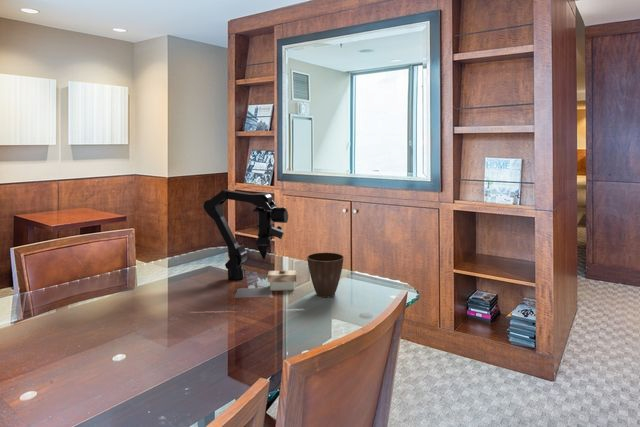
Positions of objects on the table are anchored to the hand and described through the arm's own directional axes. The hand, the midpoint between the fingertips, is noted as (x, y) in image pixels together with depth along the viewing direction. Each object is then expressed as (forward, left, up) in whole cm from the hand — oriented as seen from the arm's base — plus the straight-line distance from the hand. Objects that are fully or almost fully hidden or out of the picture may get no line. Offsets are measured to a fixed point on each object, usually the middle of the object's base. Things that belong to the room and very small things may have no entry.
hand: (265, 256), depth 212 cm
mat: (-4, -17, -12) cm, 21 cm away
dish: (+8, -11, -12) cm, 18 cm away
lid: (+8, -11, -8) cm, 15 cm away
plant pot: (+26, -20, -12) cm, 35 cm away
